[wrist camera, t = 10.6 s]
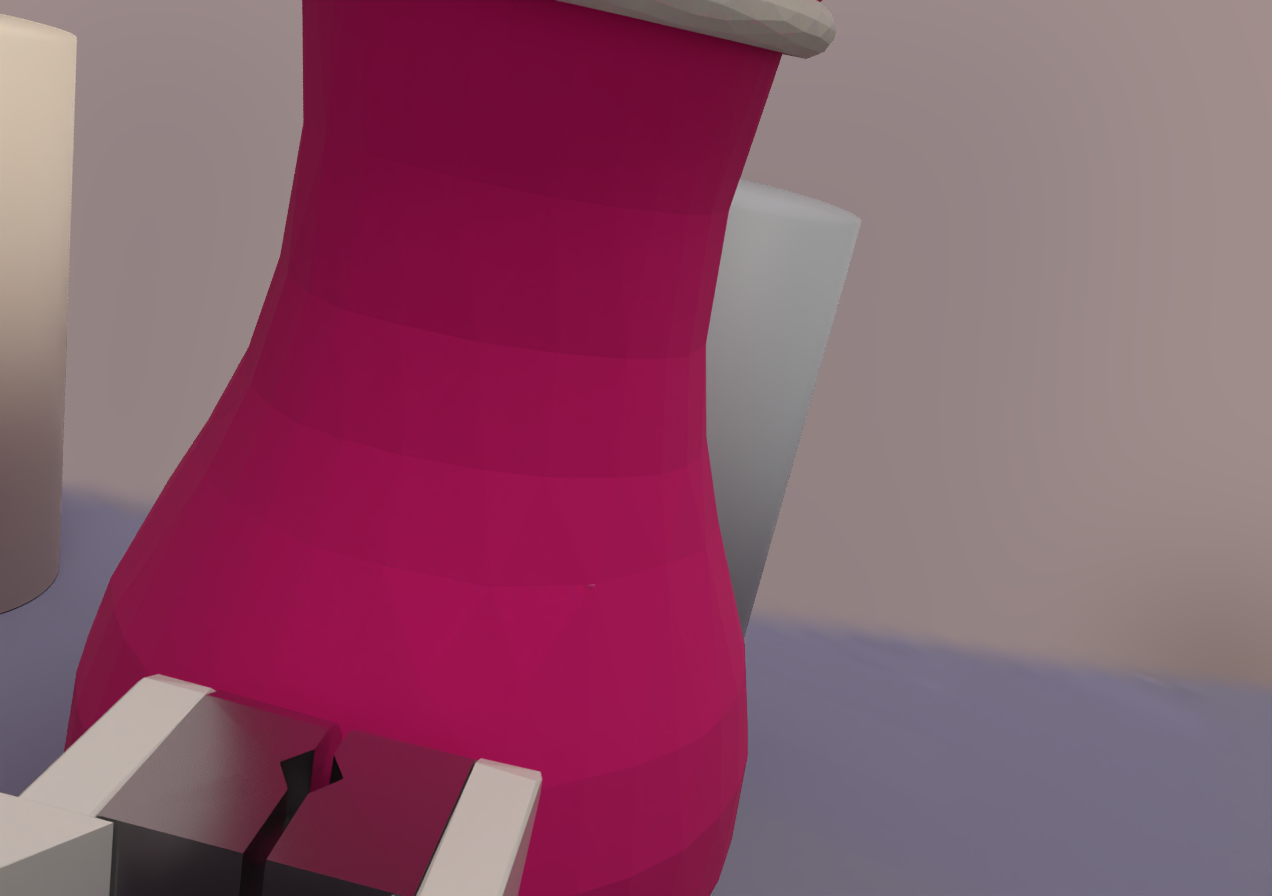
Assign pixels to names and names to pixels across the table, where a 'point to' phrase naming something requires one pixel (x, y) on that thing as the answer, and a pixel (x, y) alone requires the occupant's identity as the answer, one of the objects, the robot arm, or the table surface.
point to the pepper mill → (487, 422)
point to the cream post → (33, 297)
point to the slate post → (767, 359)
